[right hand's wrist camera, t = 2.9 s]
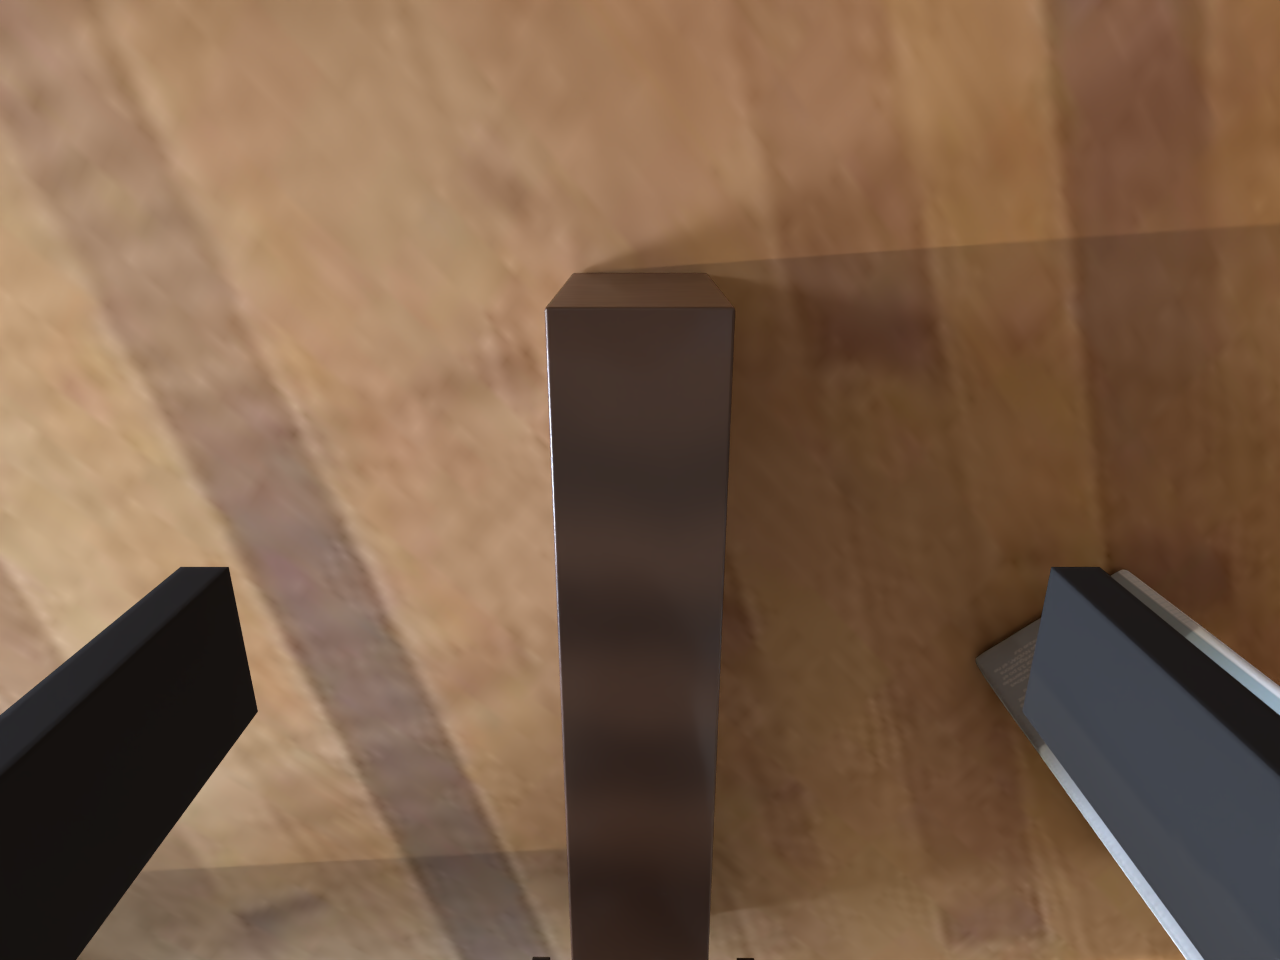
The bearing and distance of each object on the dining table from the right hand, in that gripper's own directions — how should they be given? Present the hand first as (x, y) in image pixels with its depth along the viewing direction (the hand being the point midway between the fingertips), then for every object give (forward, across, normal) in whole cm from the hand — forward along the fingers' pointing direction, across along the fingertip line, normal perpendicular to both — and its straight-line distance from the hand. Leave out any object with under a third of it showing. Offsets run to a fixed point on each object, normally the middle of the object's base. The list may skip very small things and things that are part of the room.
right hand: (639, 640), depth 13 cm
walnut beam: (+19, 0, -12) cm, 22 cm away
